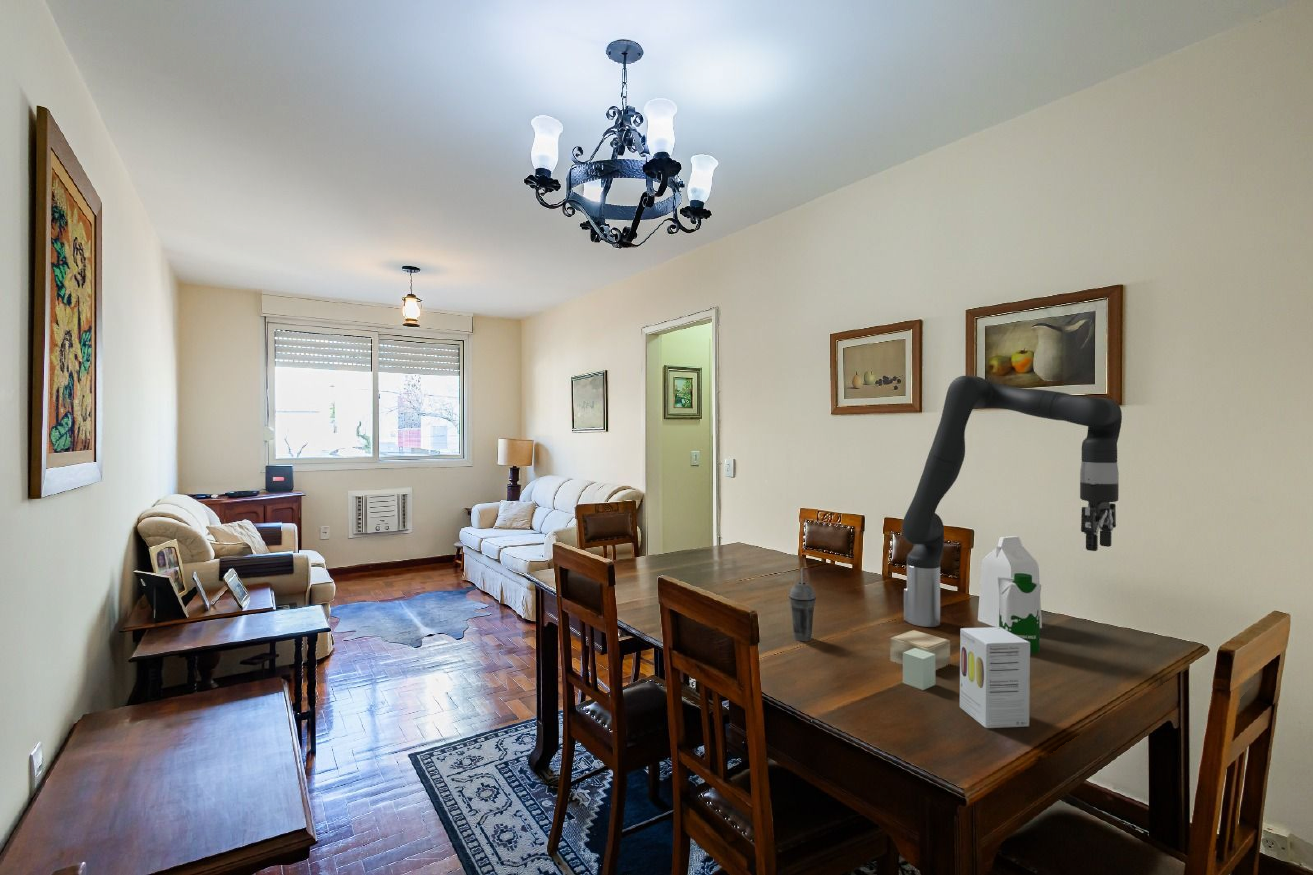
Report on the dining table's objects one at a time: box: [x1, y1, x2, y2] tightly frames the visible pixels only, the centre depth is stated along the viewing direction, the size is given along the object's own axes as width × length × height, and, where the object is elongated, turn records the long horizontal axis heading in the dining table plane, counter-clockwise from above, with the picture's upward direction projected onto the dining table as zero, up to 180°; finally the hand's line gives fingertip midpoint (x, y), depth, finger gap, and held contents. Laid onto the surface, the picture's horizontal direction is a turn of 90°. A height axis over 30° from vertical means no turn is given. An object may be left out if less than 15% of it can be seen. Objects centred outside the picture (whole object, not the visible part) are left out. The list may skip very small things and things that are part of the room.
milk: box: [977, 535, 1043, 629], centre depth 183 cm, size 12×12×26 cm
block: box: [902, 648, 936, 691], centre depth 141 cm, size 5×5×7 cm
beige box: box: [889, 629, 951, 671], centre depth 154 cm, size 10×10×6 cm
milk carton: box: [998, 573, 1042, 654], centre depth 163 cm, size 9×9×20 cm
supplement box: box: [959, 626, 1031, 729], centre depth 125 cm, size 10×9×17 cm
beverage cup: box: [788, 567, 817, 642], centre depth 171 cm, size 7×7×20 cm
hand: (1098, 548), depth 148 cm, fingers open, 8 cm apart
